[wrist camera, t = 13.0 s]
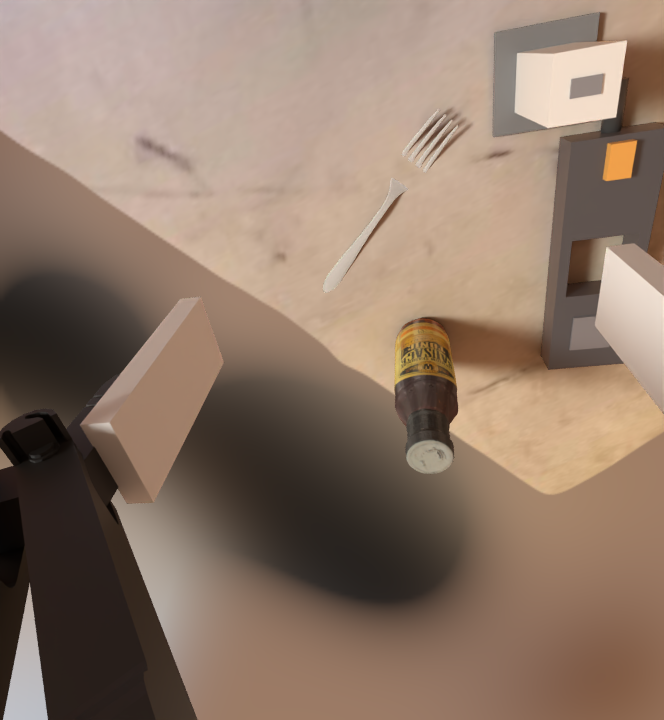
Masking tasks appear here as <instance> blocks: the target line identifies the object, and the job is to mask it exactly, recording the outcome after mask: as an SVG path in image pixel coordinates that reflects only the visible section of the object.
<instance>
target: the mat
mask: <svg viewBox="0 0 664 720" xmlns="http://www.w3.org/2000/svg"><path fill="white" fill-rule="evenodd" d="M599 17H600V12H598V13H593V14H587V15H582V16H577V17H572V18H567V19H562V20H557V21H551V22H546V23H541V24H536V25H531V26H526V27H521V28H515V29H510V30H505V31H500V32H495V36H494V90H493V137H498V136H505V135H511V134H517V133H523V132H530V131H536V130H542V129H548V128H547V127H545V126H543V125H540V124H538V123H536V122H534V121H532V120H530V119H527V118H525V117H523V116H521V115H519V114H517V113H515V91H516V67H517V53H520V52H525V51H531V50H536V49H541V48H547V47H552V46H558V45H563V44H568V43H574V42H597V34H598V25H599ZM583 123H586V122H583ZM577 124H580V123H577ZM571 125H573V124H571ZM564 126H567V125H564ZM558 127H561V126H558ZM552 128H555V127H552Z"/></svg>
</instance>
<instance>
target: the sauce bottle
mask: <svg viewBox="0 0 664 720" xmlns="http://www.w3.org/2000/svg"><path fill="white" fill-rule="evenodd" d="M395 408H396V411H397V414H398V416H399V418H400V420H401V421H402V422H403V424H404V425H405V426H406V428H407V432H408V441H407V443H406V459H407V462H408V464H409V465H410V466H411V467H412V468H413V469H415V470H416V471H419V472H422V473H433V474H435V473H439V472H442V471H444V470H445V469H447V468H448V467H449V466H451V464H452V462H453V459H454V446H453V443H452V441H451V440H450V435H449V424H450V423H451V422H452V420H453V419H454V417H455V416H456V415H457V413H458V402H457V385H456V379H455V373H454V367H453V360H452V354H451V347H450V341H449V338H448V336H447V334H446V331H445V330H444V328H443V326H442V325H441V324H439V323H437V322H435V321H433V320H431V319H425V318H422V319H416V320H413V321H411V322H408V323H406V324H405V325H404V326H403V327H402V329H401V330H400V332H399V334H398V336H397V339H396V344H395Z"/></svg>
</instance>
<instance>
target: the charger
mask: <svg viewBox="0 0 664 720" xmlns="http://www.w3.org/2000/svg"><path fill="white" fill-rule="evenodd" d="M626 46H627V40H624V41H599V42H574V43H568V44H563V45H558V46H552V47H547V48H541V49H536V50H531V51H525V52H520V53H517V67H516V91H515V113H517V114H519V115H521V116H523V117H525V118H527V119H530V120H532V121H534V122H536V123H538V124H540V125H543V126H545V127H547V128H552V127H558V126H564V125H571V124H577V123H583V122H589V121H596V120H602V119H608V118H614V117H616V114H617V108H618V101H619V94H620V87H621V80H622V73H623V66H624V59H625V53H626Z"/></svg>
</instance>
